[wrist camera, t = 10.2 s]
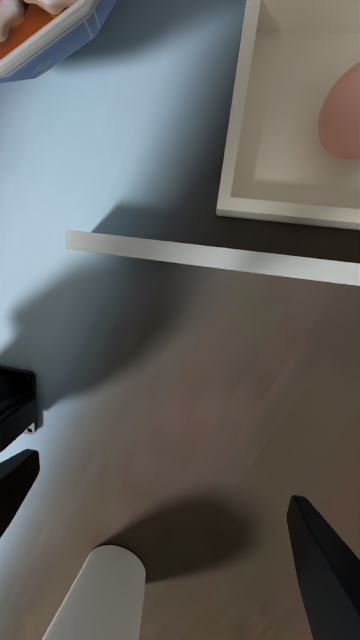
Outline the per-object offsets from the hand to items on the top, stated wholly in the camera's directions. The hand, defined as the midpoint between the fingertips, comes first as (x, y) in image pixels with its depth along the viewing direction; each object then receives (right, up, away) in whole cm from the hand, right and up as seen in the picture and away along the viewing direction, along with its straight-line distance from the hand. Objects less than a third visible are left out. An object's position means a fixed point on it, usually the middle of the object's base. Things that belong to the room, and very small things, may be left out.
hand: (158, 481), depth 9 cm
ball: (+10, +16, +4) cm, 19 cm away
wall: (+4, +10, +9) cm, 14 cm away
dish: (+9, +17, +6) cm, 20 cm away
